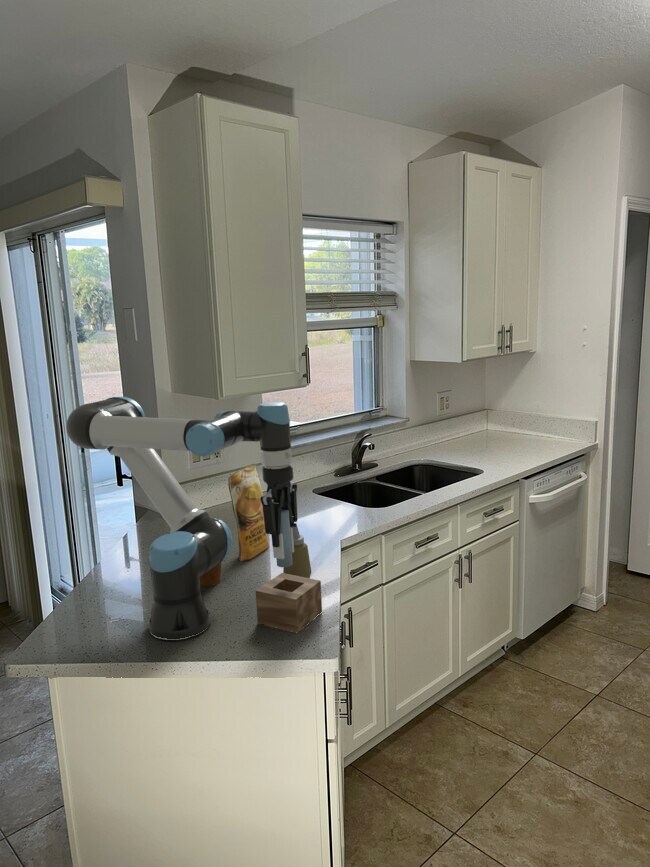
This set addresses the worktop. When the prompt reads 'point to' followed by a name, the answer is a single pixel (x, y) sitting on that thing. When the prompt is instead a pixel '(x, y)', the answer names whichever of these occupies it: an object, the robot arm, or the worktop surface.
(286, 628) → the socket block
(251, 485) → the pancake mix bag
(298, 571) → the squeeze bottle
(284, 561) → the dowel
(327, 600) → the worktop surface
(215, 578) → the disposable coffee cup
